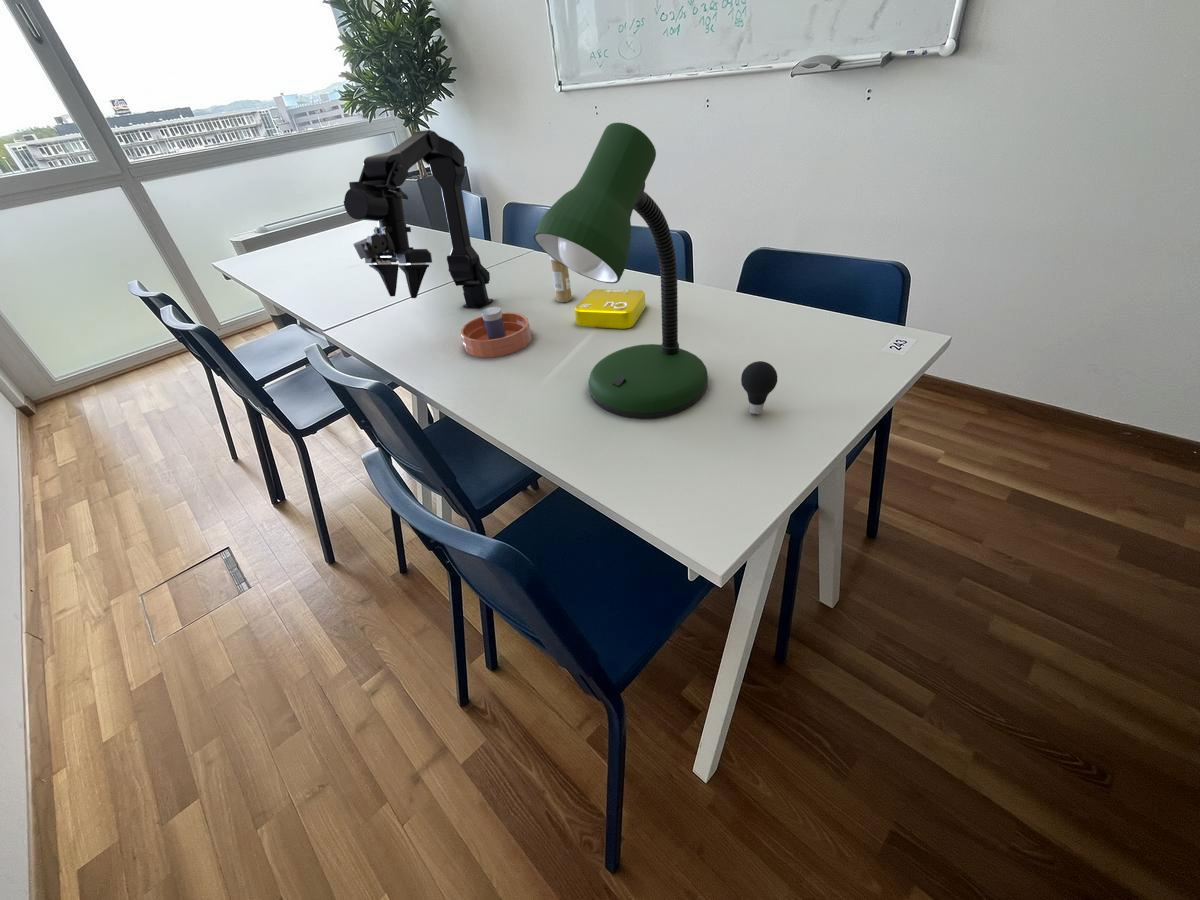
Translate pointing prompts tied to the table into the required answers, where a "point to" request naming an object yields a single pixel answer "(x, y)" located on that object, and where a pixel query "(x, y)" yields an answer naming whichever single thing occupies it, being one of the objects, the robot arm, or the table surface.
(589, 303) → the element tile
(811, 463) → the table surface
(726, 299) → the table surface
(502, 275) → the table surface
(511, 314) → the bowl
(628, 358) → the desk lamp
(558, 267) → the sprinkles bottle
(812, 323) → the table surface
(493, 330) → the salt shaker
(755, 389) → the light bulb
